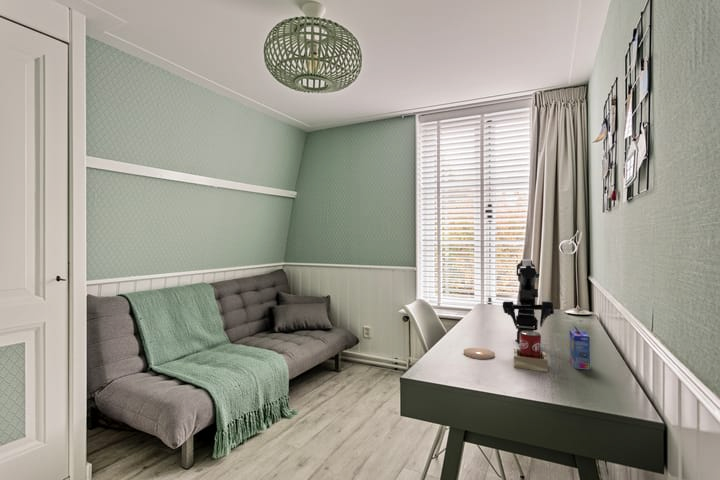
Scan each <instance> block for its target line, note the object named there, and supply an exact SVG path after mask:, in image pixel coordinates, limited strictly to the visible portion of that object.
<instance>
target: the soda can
mask: <svg viewBox="0 0 720 480" xmlns="http://www.w3.org/2000/svg"><path fill="white" fill-rule="evenodd" d="M519 349H520V353H519V356H521V357H530V358H539V359H541V352H542V334H541V333H540V332H538V331H535V330H534V331H521V332H520V342H519Z"/></svg>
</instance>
